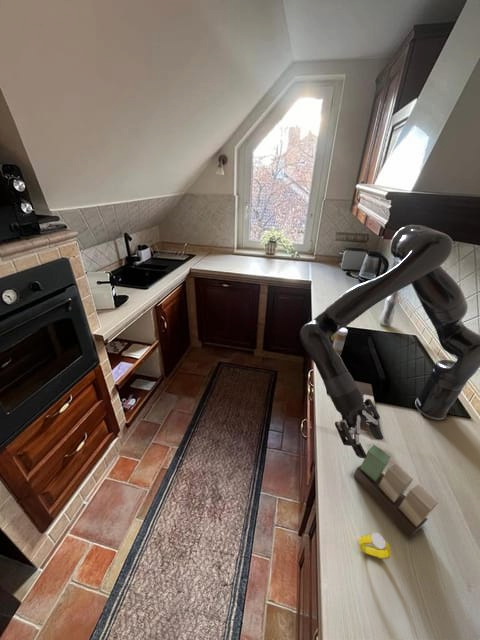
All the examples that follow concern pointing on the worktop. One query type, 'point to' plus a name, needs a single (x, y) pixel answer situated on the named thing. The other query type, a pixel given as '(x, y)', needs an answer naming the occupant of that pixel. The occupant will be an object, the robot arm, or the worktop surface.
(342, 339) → the sprinkles bottle
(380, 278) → the robot arm
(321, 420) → the worktop surface
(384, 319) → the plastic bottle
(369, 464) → the green flat piece
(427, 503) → the stand
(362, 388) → the near board
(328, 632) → the worktop surface
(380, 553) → the watch
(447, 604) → the worktop surface
